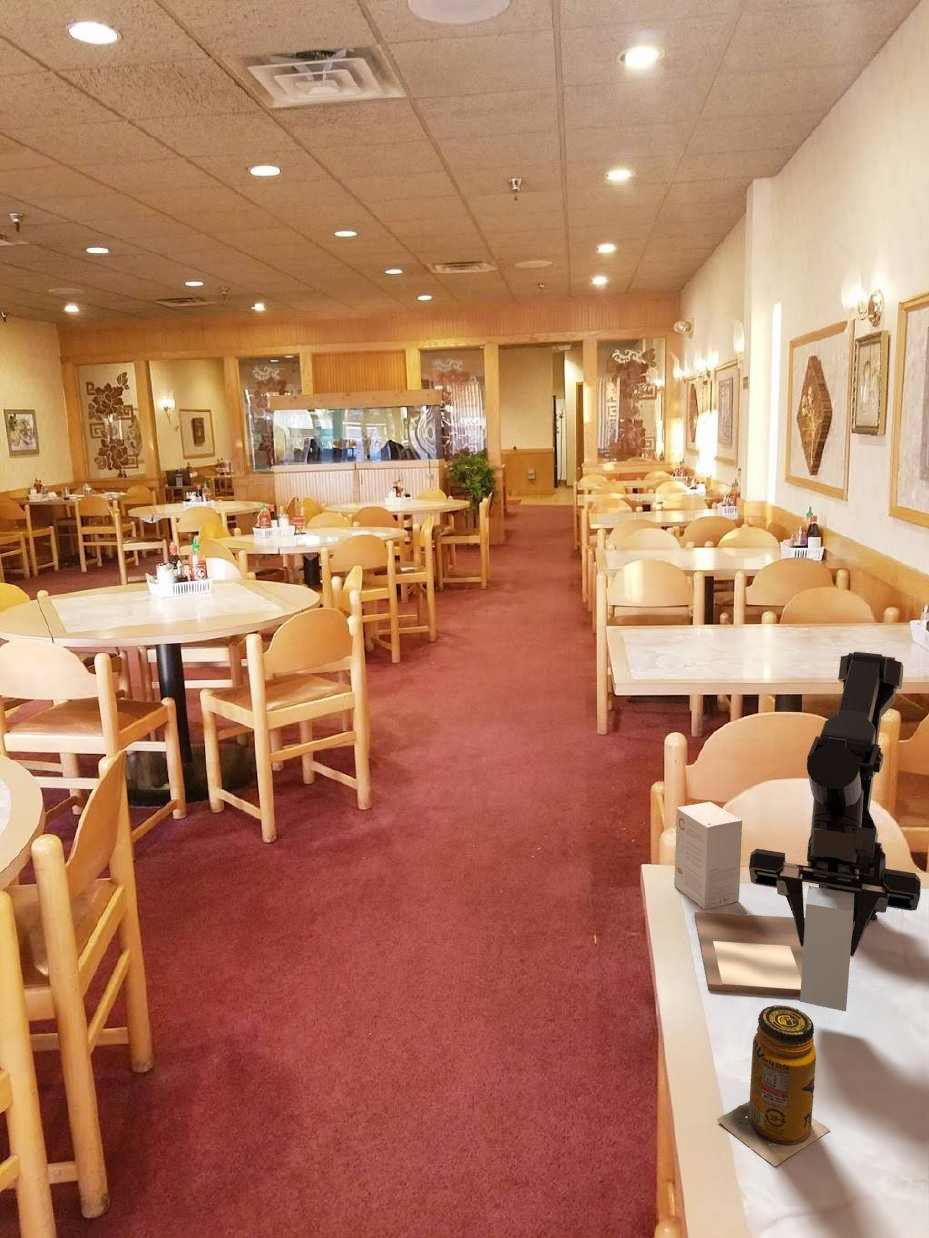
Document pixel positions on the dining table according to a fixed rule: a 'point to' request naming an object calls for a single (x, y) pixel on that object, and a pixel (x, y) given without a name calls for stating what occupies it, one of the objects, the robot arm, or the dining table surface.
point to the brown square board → (750, 953)
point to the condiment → (779, 1087)
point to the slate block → (827, 948)
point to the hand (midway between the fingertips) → (826, 950)
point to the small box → (708, 854)
